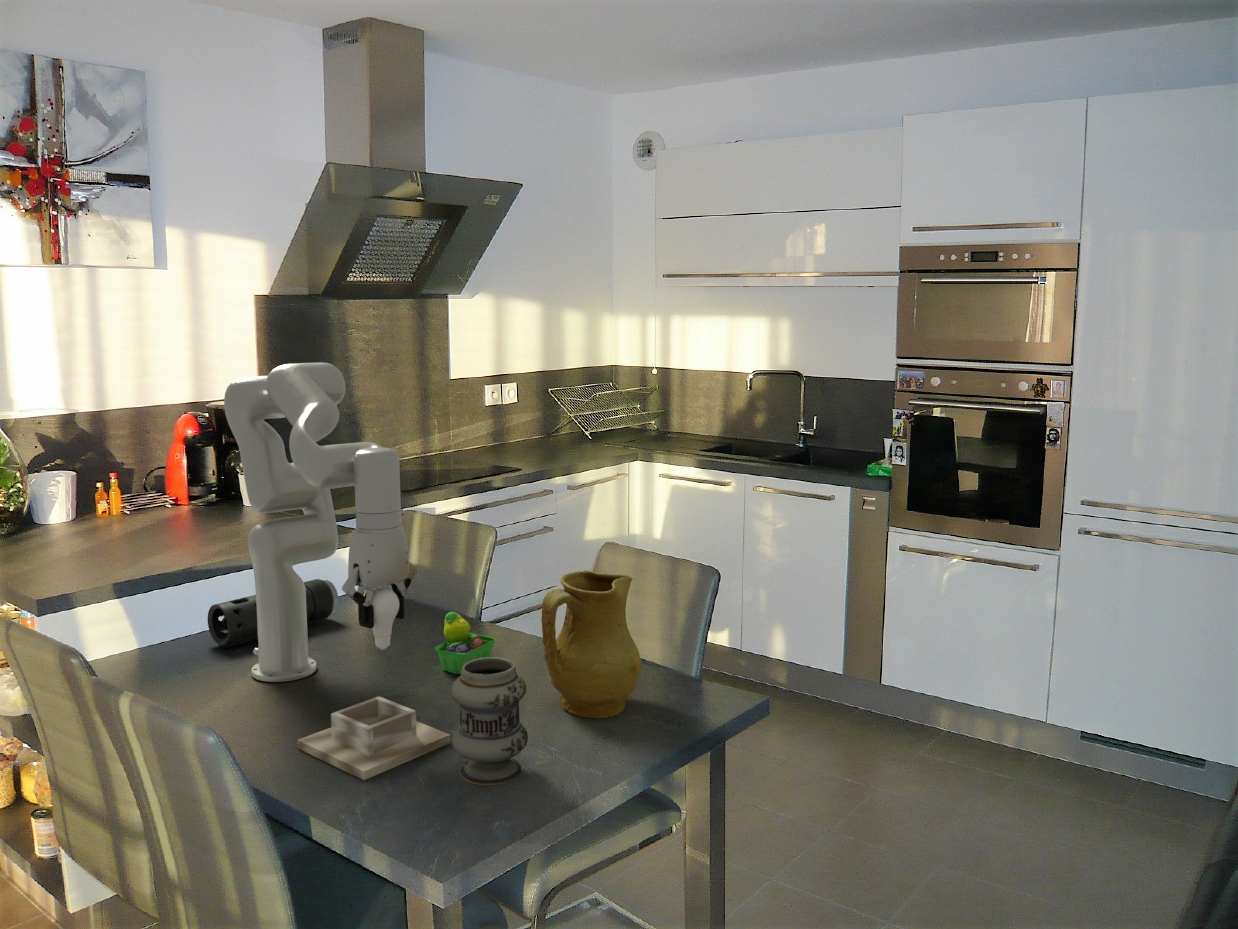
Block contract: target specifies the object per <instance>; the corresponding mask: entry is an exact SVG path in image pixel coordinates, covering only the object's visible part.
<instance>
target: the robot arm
mask: <svg viewBox="0 0 1238 929" xmlns="http://www.w3.org/2000/svg"><path fill="white" fill-rule="evenodd" d="M345 394H346V381H345V378H344V375H343V373H342V372H341V370H340V369H339V368H338V367H336V365H334V364H333V363H328V362H300V363H299V362H298V363H284V364H282V365H278V366H277V367H274V368H273V369H272V370H271V371H270V372H269V373H268V374H267V375H258V376H257V375H256V376H249V377H243V378H239V379H236V380H234V381H232V382H230V383H229V385H227V387H226V390H225V393H224V398H223V400H224V401H223V405H224V406H223V407H224V414H225V417H226V420H227V423H228V426H229V428H230V430H231V433H232V435H233V437H234V439H235V441H236V444H237V446H238V449H239V454H240V461H241V466H242V471H243V472H242V473H243V476H244V477H243V478H244V484H245V488H246V489H245V490H246V494H247V498H248V501H249V504H250V507H251V508H252V509H253V510H254V511H255V512H257V513H262V514H268V513H269V514H270V513H279V512H286V511H287V512H288V511H294V510H302V511H303V512H302V513H303V515H296V516H287V517H282V518H275V519H272V518H271V519H268V520H265V521H262V522H260V523H257V524H256V525H255V526H254V527H252V529H251V530H250V531H249V533H248V536H247V547H248V551H249V555H250V559H251V564H252V570H253V575H254V587H255V595H256V605H257V626H258V639H257V642H258V645H257V646H258V647H255V648H253V651H252V653H253V654H254V655H256V656H257V660H258V662H257V663H255V664H254V665H253V666H252V667H251V670H250V671H251V672H250V673H251V674H250V675H251V677H253V678H254V679H256V680H258V681H260V682H268V683H283V682H291V681H296V680H300V679H304V678H306V677H309V676H310V675H312V674H313V673H314V672H316V671H317V661H316V660H315V659H313V658H311V657H309V645H308V644H309V643H308V641H309V640H308V626H307V611H306V590H305V584H304V582H305V581H304V580H303V579H302V577H301V576H299V574H298V573H297V572H296V571H295V570H294V568H293V567H294V566H295V565H299V564H303V563H309V562H315V561H320V560H323V559H324V560H325V559H327V558H330V557H331V556H333V555H334V554H335V553H336V551H337V549H338V546H339V532H338V526H337V520H336V515H335V510H334V509H335V508H334V504H333V503H334V502H333V498H332V492H331V489H332V490H333V489H338V488H339V489H340V488H346V487H347V488H348V487H354V500H355V501H354V502H355V528H356V529H352V531H351V535H350V540H349V541H350V542H349V548H348V559H347V560H348V561H347V563H348V564H347V565H348V566H347V570H348V571H347V574H348V577H347V579H346V580H345V582H344V584H343V585H342V587H341V590H342V592H344V593H345V594H346V595H347V596H349V598H351V600H353V602H354V603H355V605H357V611H358V613H357V614H358V616H357V617H358V625H359V626H360V627H362V628H365V629H366V628H367V629H372V628H373V627H374V611H373V605H370V602H371V599H372V595H373V591H374V589H376V588H384V587H386V586H389V589H390V590H392V591H393V592H394V593H395V594H396V595H397V597H398V599H399V610H398V613H397V615H396V617H395V619H400V620H402V619H404V618H405V597H406V596H407V594H408V591H407V590H409V587H410V586H411V585H412V581H413V579H414V578H415V576H416V574H417V572H418V570H417V568H416V567H414V566H413V565H412V563H410V559H409V547H408V541H407V535H406V531H405V527H404V525H403V524H402V517H404V516H405V510H404V509H402V507H401V476H400V474H401V472H400V471H401V470H400V468H401V467H400V455H399V453H398V451H397V450H395V449H394V448H391V447H383V446H381V445H379V443H378V444H377V443H376V442H371V441H361V442H348V443H347V442H346V443H336V444H327V445H326V444H325V445H319V444H318V443H317V442H319V441H321V440H322V439H324V438H326V437H327V436H328V435H330V434H331V433H332V432H333V431H334V429H335V428H336V426H337V425H338V422H339V419H340V410H339V407H338V406H337V405H338V404H340V403H341V402H342V401H343V399H344V397H345ZM282 418H286V420H287V421H288V422H289V423H290V424H291V426H292V428H291V431H290V434H289V442H288V444H289V452H290V456H291V460H292V462H289V461H288V458H287V455H286V449H285V443H284V441H283V438H282V437H281V435H280V434H279V433H278V432H277V431H276V429H275V428H274V427H273V426H272V425H271V424H269V423H268V422H267V421H265V420H267V419H268V420H269V419H282ZM355 587H357V589H356V588H355Z"/></svg>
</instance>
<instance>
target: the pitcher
mask: <svg viewBox="0 0 1238 929" xmlns="http://www.w3.org/2000/svg"><path fill="white" fill-rule="evenodd" d="M632 581H633V577H631V576H630V575H629V574H628V575H627V574H620V573H619V574H615V573H614V574H612V573H601V572H596V571H593V570H587V569H586V570H585V569H584V570H583V571H582V570H578V571H577V570H576V571H573V572H568V573H566V574H563V575H562V576H561V577H560V584H561V585H562V588H563V589H561V588H552V589H550V590H549V591H548V592H546V594H545V595H544V598H543V599H542V603H541V622H540V623H541V633H542V643H543V646H544V656H543V657H544V658H543V659H544V661H545V663H546V666H547V672H548V673H549V677H550V682H551V685H552V687H554V688H555V690H556V691H558V692H559V693H560V694H561V698H560V706H561V707H562V709H565V710H566V711H567V712H568V713H569V714H573V715H575V716H578V717H583V718H590V719H604V718H606V719H608V717H609V718H612V717H616V716H618V715H620V712H621V713H623V712H624V710H625V709H626V706H625V705H626V701H627V700H628V699H629V697H630V696H631V695H632V693H633V691H634V690H635V688H636V687H637V682H638V680H639V677H640V675H641V674H640V673H641V671H642V661H641V656H640V652H639V650H638V649H639V648H638V647H637V644H636V642H635V641H634V639H633V637H632V635H631V633H630V631H629V630H630V629H629V627H628V624H627V614H626V608H627V600H628V594H629V590H630V587H631V582H632ZM564 604H566V609H565V614H564V616H565V617H564V619H563V620H564V621H563V624H562V627H561V629H560V632H559V634H558V636H557V637H556V632H557V631H556V619H557V611H558V609H559V607H560V606H563V605H564ZM624 706H625V707H624ZM624 708H625V709H624ZM615 715H616V716H615Z"/></svg>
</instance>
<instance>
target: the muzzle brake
mask: <svg viewBox="0 0 1238 929" xmlns="http://www.w3.org/2000/svg"><path fill="white" fill-rule="evenodd" d="M303 582H304V584H305V590H306V611H307V627H308V626H309V624H310V623H315V622H318V621H322V620H326V619H328V618H329V617H330V616H331V615H332V614H334V613H336V612H337V610H338V607H339V595H338V594H339V593H338V591H337V588H336V586H335V584H334V583H333V582H332V581H330V580H328V579H325V580H324V579H323V580H322V579H319V578H317V579H312V580H308V581H303ZM220 617H221V618H222V619H221V620H220V619H219V618H220ZM207 627H208V630H209V634H210V635H211V638H212V640H213V641H214V642H215V643H216V644H217V645H218V646H219V647H220V648H222V649H226V648H230V647H233V646H237V645H240V644H244V643H248V642H252V641H255V640H258V626H257V605H256V594H253V595H250V596H245V597H241V598H237V599H233V600H228V601H223V602H220V603H216V604H212V605H211V606H210V607H209V610H208V612H207ZM224 631H227V632H224Z"/></svg>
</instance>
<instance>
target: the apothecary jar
mask: <svg viewBox="0 0 1238 929" xmlns="http://www.w3.org/2000/svg"><path fill="white" fill-rule="evenodd" d="M526 692H527V683H526V681H525V679H524V678H523V677H522V676H521V675H520V674H519V673H518V672H517V670H516V664H515V662H514V661H512V660H511V659H508V658H504V657H499V656H490V657H484V658H478V659H474V660H471V661H469V662H467V663H465V664H464V665H463V667H462V671H461V675H460V676H459V677H457V678H456V680H455V681H454V682H453V684H452V687H451V696H452V698H453V699H454V701H455V702H456V703H457V704H459V726H458V728H456V730H455V731H454V733H453V735H452V746H453V749H454V751H455V752H456V753H457V754H458V755H459V756H460V757H462V758H463V759H466V760H467V761H466V762H465V763H464V765H463V766H461V768H460V769H459V774H460V778H461V779H463V780H464V781H466V782H468V783H470V784H473V785H476V784H477V786H484V785H489V786H497V785H503V784H506V783H509V782H511V781H513V780H515V779H516V778H518V776H520V774H521V772H522V766H521V764H520V762H519V761H517V760H516V759H515V758H514V757H516V756H518V754H519V755H520V753H521V752H522V751H523V750H524V749H525V747H526V746H527V743H528V740H529V734H528V730H527V729H526V726H525V725H523V723H522V722H521V718H520V701H522V699H523V698H524V697H525V695H526Z"/></svg>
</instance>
